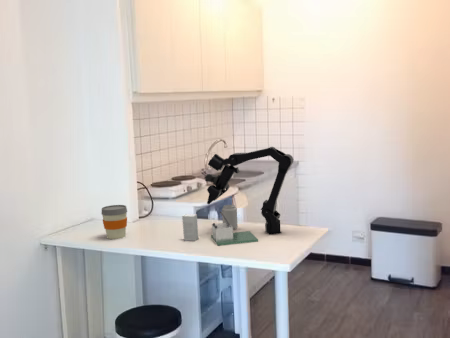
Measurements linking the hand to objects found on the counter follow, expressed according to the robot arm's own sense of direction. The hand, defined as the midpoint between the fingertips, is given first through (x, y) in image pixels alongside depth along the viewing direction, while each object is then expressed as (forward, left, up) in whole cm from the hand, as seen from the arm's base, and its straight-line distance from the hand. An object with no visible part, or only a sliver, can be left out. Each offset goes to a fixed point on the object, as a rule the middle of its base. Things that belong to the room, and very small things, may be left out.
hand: (210, 202), depth 260 cm
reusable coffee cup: (+48, -8, -15) cm, 51 cm away
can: (-9, -1, -15) cm, 18 cm away
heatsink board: (-7, +19, -15) cm, 25 cm away
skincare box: (+13, +12, -15) cm, 23 cm away
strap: (-3, +19, -5) cm, 20 cm away
